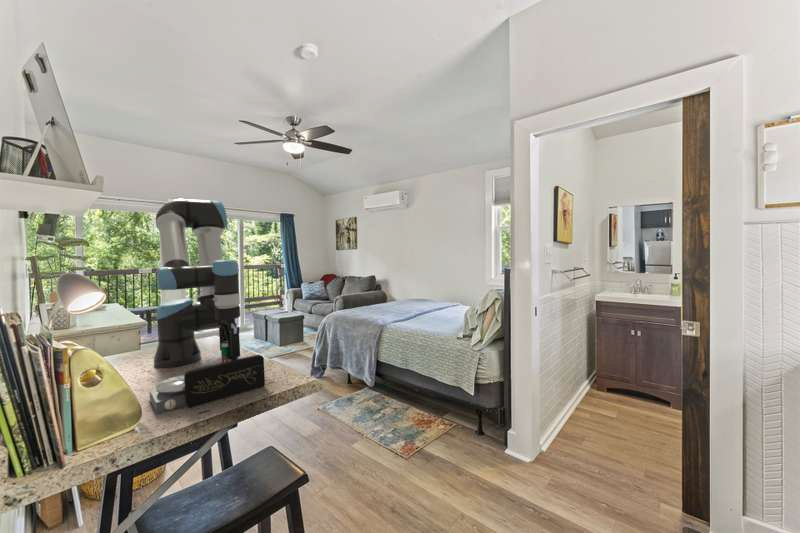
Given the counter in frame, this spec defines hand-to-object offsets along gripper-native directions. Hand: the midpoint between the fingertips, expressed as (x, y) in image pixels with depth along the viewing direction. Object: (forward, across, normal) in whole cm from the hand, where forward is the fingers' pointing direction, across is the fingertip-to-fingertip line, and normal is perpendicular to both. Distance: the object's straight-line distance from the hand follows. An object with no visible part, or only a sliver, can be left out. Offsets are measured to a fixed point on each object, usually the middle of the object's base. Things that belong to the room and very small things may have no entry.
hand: (231, 374), depth 114 cm
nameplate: (+1, +15, -6) cm, 16 cm away
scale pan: (-3, +7, -16) cm, 18 cm away
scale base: (+1, +7, -16) cm, 17 cm away
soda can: (+1, 0, 0) cm, 1 cm away
